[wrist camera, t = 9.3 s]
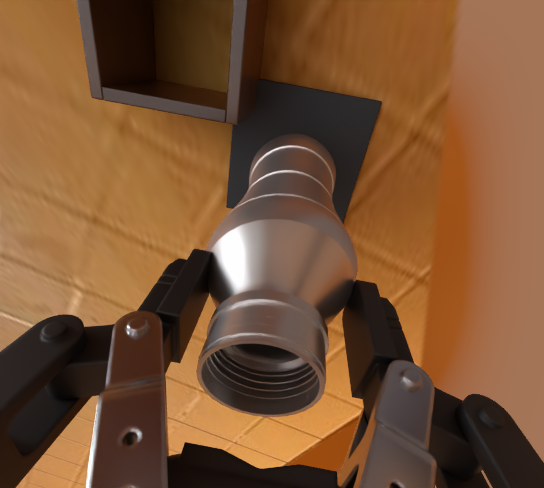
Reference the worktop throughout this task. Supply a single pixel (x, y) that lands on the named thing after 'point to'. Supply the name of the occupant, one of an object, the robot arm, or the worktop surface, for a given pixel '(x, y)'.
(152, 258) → the worktop surface
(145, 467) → the robot arm
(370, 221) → the worktop surface
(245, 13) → the holder
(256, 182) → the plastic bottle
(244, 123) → the mat
